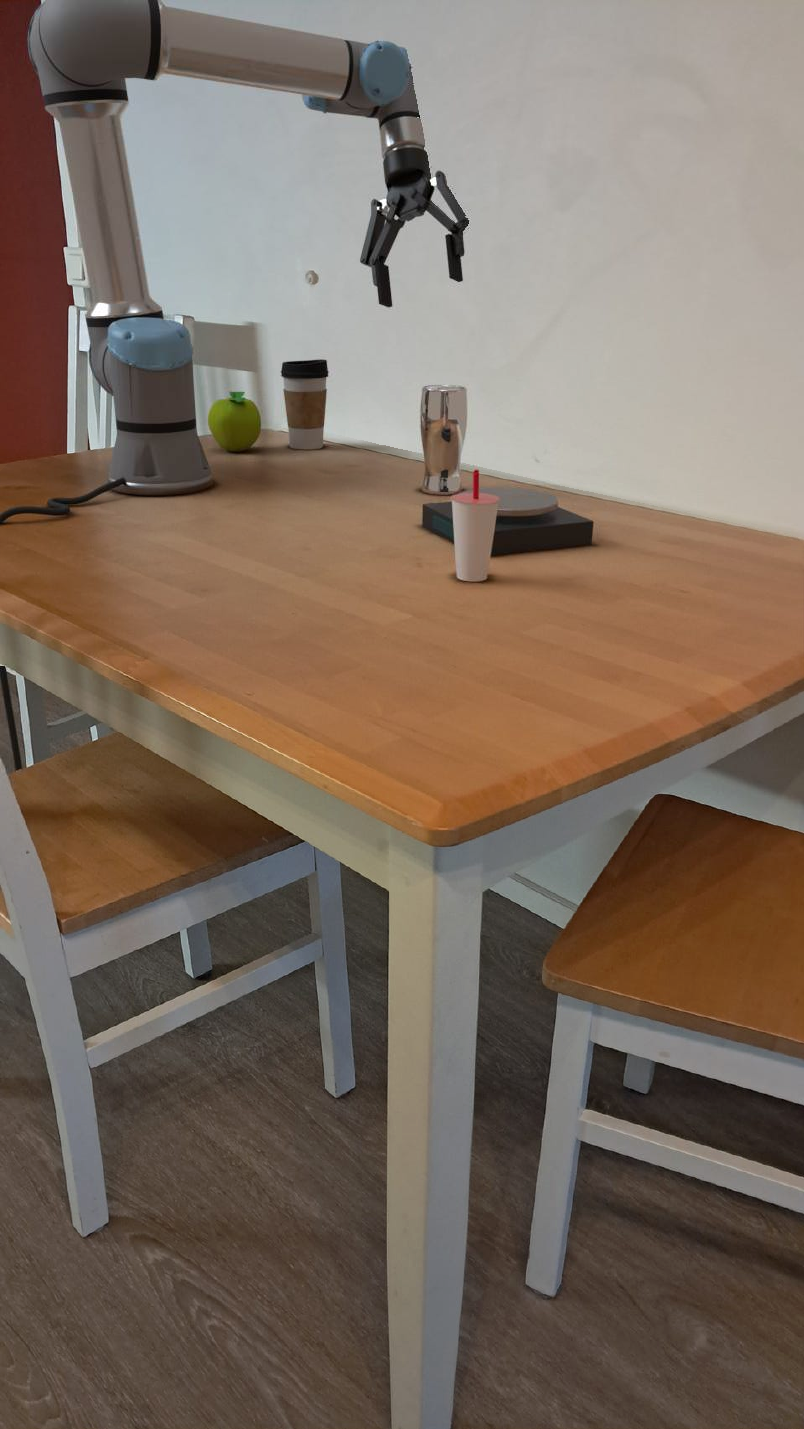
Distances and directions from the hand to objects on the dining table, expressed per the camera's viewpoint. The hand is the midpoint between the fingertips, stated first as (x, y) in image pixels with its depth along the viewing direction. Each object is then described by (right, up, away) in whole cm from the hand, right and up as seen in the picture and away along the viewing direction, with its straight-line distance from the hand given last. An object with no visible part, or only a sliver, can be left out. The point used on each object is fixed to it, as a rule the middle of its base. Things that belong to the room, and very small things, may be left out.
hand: (420, 292), depth 168 cm
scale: (+10, -44, -31) cm, 55 cm away
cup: (+5, -51, -49) cm, 71 cm away
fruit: (-32, -20, +21) cm, 43 cm away
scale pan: (+10, -40, -33) cm, 53 cm away
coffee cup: (-20, -18, +25) cm, 37 cm away
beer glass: (+3, -33, -7) cm, 34 cm away
